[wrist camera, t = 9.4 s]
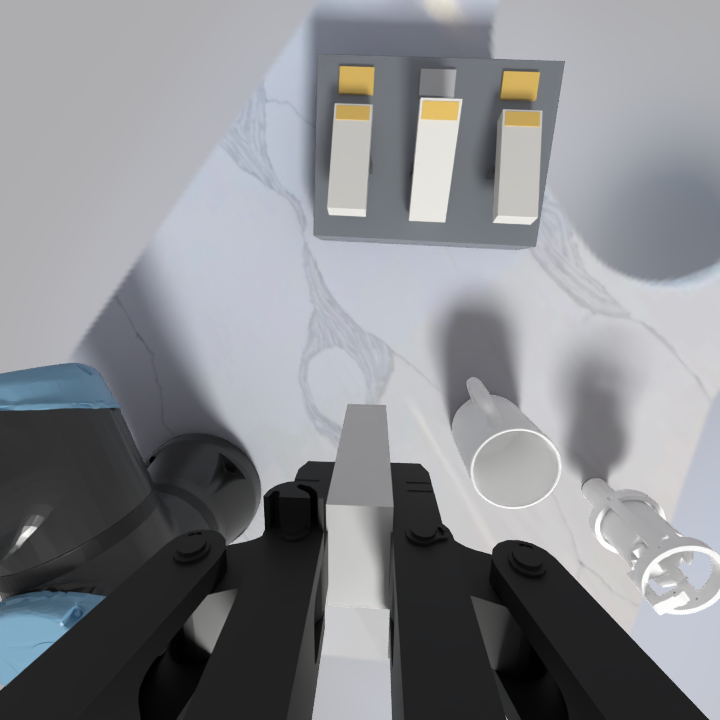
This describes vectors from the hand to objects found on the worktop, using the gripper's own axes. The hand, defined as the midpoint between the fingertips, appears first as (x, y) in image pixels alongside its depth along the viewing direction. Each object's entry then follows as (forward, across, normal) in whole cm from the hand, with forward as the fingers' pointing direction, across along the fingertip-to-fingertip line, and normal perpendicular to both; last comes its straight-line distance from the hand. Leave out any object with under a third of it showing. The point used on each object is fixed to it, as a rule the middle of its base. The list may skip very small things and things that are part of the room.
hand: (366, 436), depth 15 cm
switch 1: (+21, -2, +16) cm, 26 cm away
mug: (+28, +13, -9) cm, 33 cm away
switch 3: (+21, +12, +15) cm, 28 cm away
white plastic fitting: (+28, +28, -19) cm, 44 cm away
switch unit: (+28, +5, +17) cm, 33 cm away
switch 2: (+21, +5, +16) cm, 26 cm away
